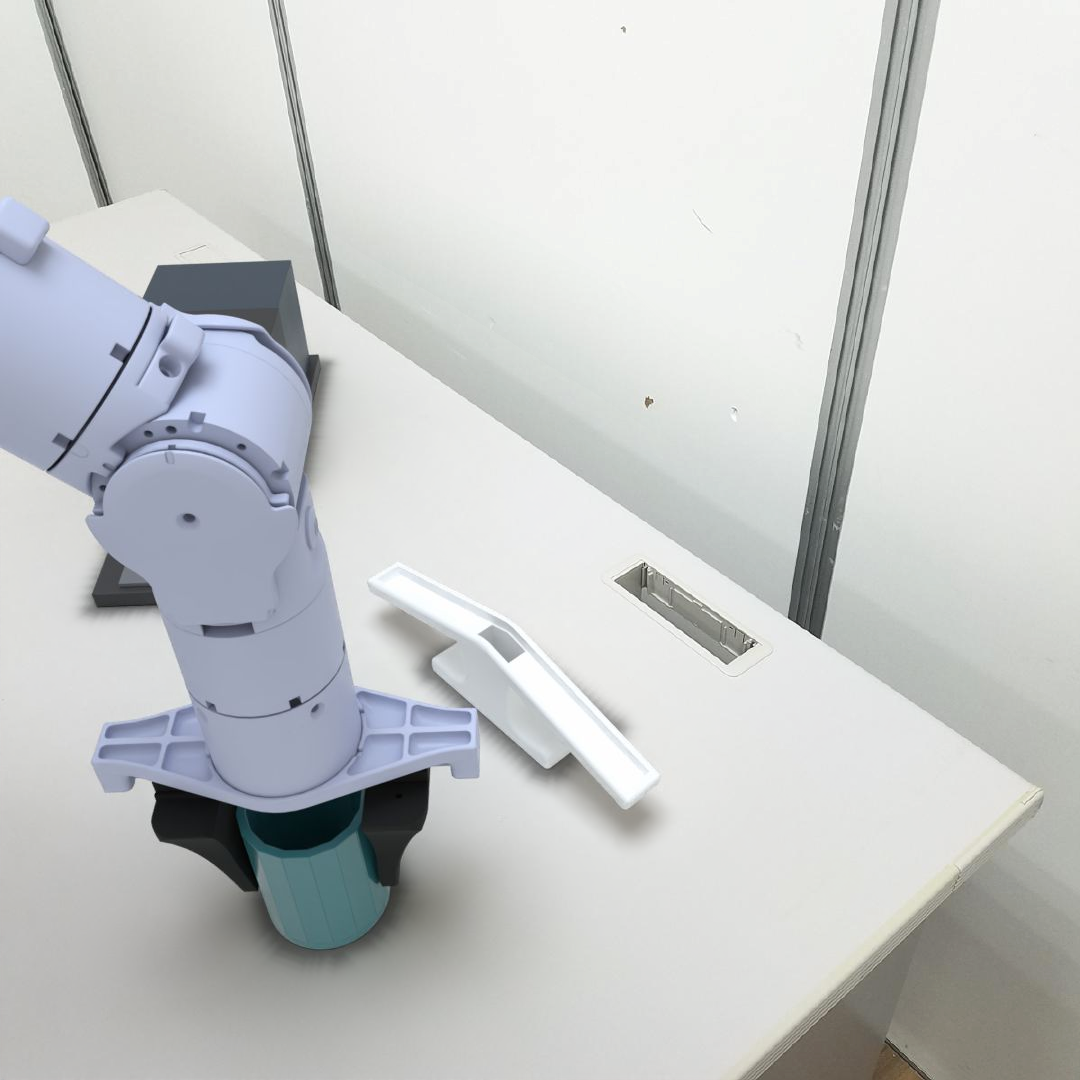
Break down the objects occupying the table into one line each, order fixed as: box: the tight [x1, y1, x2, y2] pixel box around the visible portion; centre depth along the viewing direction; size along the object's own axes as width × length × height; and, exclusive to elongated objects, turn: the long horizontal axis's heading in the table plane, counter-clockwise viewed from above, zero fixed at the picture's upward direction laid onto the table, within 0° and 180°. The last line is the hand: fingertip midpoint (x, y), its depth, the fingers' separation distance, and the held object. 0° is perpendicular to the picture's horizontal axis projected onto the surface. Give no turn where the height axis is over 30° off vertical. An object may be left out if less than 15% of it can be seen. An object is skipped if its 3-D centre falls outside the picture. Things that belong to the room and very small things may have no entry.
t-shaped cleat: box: [366, 561, 662, 810], centre depth 57 cm, size 4×20×5 cm, turn 42°
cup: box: [236, 789, 391, 950], centre depth 49 cm, size 5×5×7 cm
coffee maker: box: [91, 259, 322, 607], centre depth 71 cm, size 24×10×10 cm, turn 2°
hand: (324, 868), depth 50 cm, fingers closed on cup, 5 cm apart
